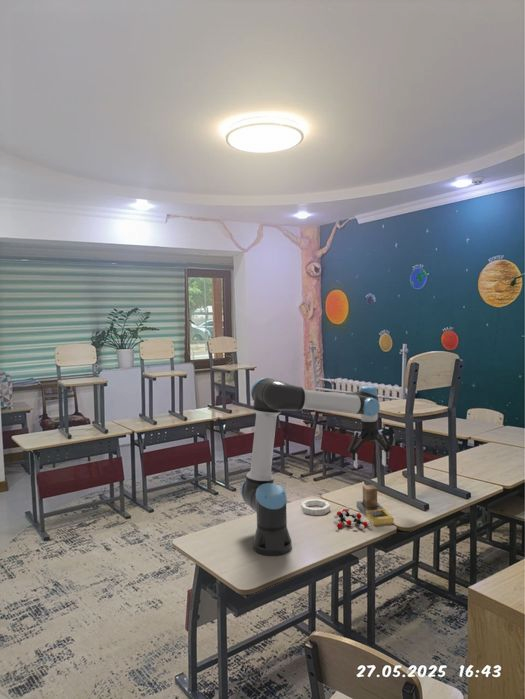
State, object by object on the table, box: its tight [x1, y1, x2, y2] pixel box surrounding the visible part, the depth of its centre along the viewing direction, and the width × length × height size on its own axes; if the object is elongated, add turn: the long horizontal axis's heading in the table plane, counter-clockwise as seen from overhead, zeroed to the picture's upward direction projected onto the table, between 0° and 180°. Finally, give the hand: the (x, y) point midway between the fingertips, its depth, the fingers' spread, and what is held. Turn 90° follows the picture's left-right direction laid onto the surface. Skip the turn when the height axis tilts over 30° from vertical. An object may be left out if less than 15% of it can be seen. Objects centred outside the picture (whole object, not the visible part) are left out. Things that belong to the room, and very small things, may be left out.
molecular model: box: [333, 507, 372, 530], centre depth 210 cm, size 10×12×15 cm
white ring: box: [300, 498, 331, 516], centre depth 227 cm, size 12×12×2 cm
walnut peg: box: [362, 484, 378, 508], centre depth 224 cm, size 5×5×11 cm
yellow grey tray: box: [356, 500, 395, 526], centre depth 219 cm, size 9×21×3 cm, turn 9°
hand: (369, 466), depth 223 cm, fingers open, 13 cm apart
